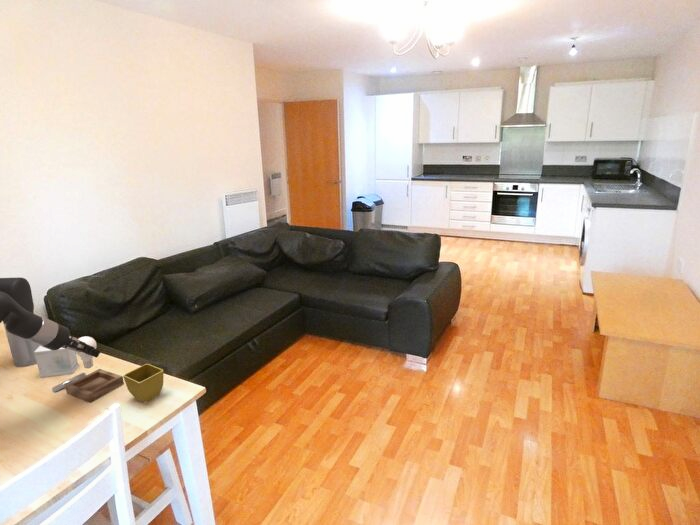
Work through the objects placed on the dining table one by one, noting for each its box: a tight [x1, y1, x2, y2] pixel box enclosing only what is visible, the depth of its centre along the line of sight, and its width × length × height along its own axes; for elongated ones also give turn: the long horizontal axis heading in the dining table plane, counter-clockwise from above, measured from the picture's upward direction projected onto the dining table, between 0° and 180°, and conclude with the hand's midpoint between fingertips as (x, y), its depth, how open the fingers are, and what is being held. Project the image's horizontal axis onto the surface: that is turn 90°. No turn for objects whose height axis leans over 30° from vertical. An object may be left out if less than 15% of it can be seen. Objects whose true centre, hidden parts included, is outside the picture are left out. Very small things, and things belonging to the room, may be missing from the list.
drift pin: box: [51, 372, 87, 393], centre depth 144 cm, size 11×2×2 cm, turn 155°
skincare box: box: [34, 346, 80, 378], centre depth 151 cm, size 10×6×10 cm, turn 103°
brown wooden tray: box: [64, 368, 125, 404], centre depth 141 cm, size 12×12×3 cm
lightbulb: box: [74, 335, 98, 369], centre depth 137 cm, size 6×6×11 cm
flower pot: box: [123, 363, 164, 403], centre depth 135 cm, size 9×9×9 cm
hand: (91, 352), depth 138 cm, fingers closed on lightbulb, 6 cm apart
